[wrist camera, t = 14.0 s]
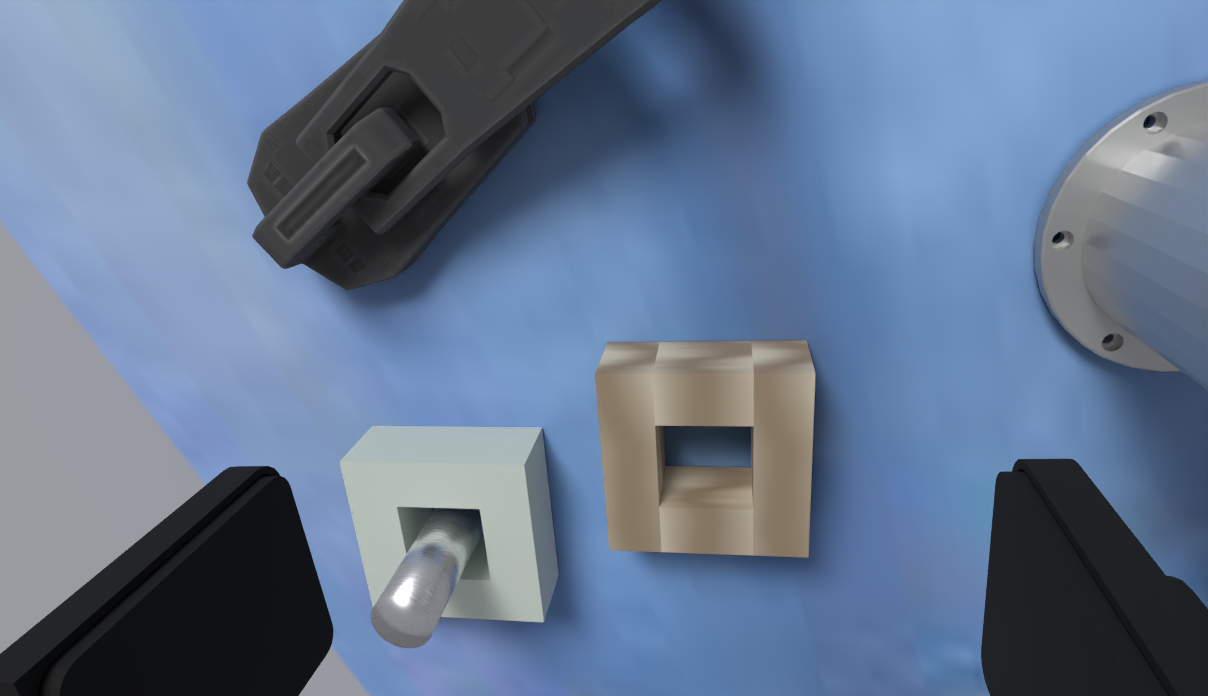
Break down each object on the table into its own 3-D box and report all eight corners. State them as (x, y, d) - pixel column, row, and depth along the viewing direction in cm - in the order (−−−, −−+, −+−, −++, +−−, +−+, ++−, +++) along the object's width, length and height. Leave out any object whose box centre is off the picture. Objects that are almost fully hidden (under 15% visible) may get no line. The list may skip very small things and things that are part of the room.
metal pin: (490, 480, 43) (427, 598, 34) (497, 524, 44) (437, 649, 35) (441, 479, 44) (365, 595, 35) (448, 522, 45) (377, 646, 36)
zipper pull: (760, -62, 25) (305, 348, 34) (754, -42, 31) (369, 302, 40) (589, -305, 24) (156, 194, 32) (618, -234, 30) (246, 170, 38)
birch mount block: (806, 340, 37) (815, 373, 33) (801, 511, 41) (808, 557, 37) (607, 342, 39) (595, 373, 35) (619, 506, 42) (609, 550, 39)
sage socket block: (542, 427, 41) (524, 465, 38) (558, 575, 45) (543, 622, 41) (372, 425, 43) (339, 461, 39) (401, 568, 47) (374, 613, 43)
